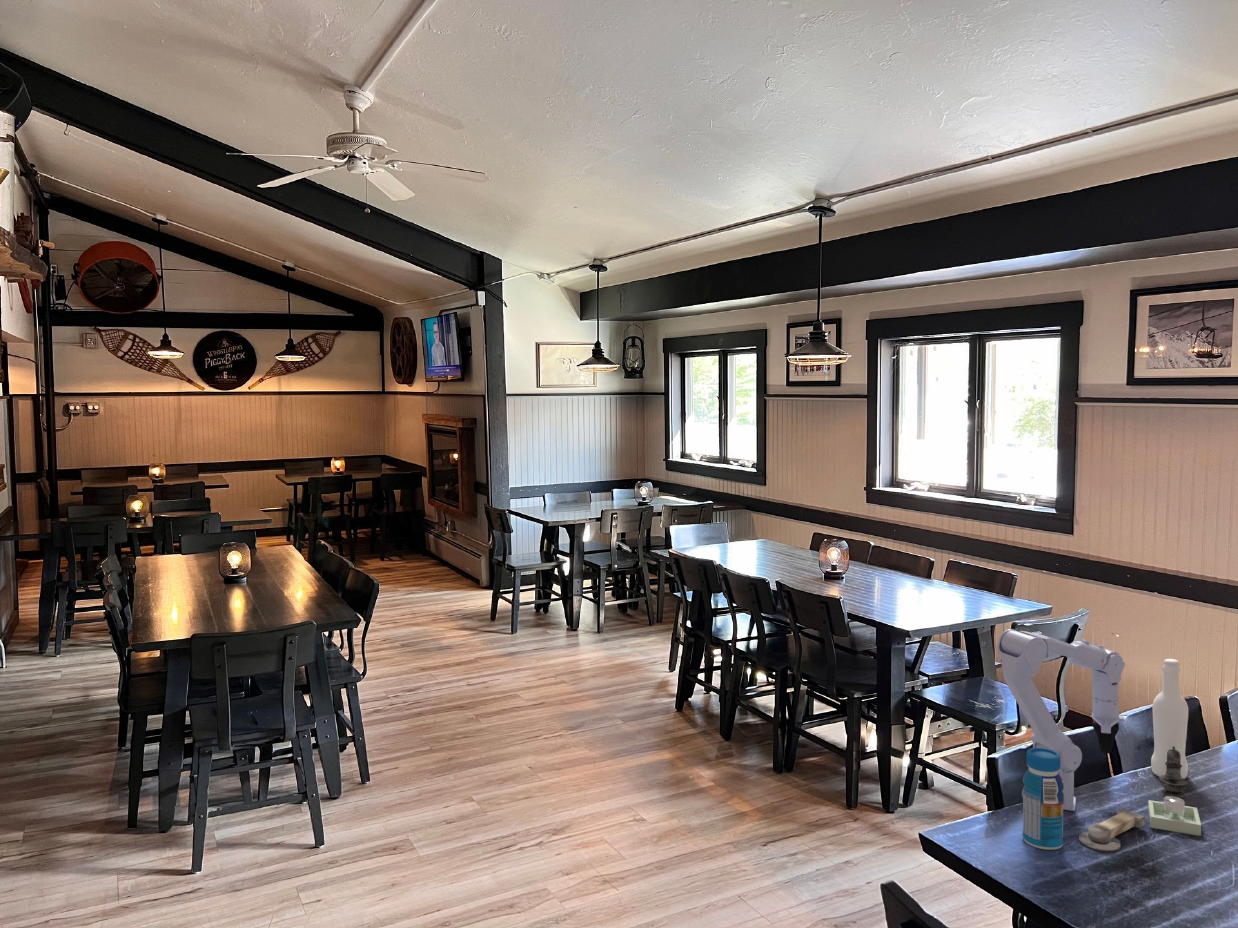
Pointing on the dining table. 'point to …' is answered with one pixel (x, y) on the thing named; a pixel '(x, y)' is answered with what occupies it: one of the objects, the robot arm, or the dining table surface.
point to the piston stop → (1174, 808)
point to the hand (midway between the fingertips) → (1105, 752)
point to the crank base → (1109, 846)
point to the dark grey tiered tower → (1173, 776)
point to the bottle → (1169, 720)
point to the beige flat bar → (1115, 826)
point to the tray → (1187, 826)
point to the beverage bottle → (1043, 800)
